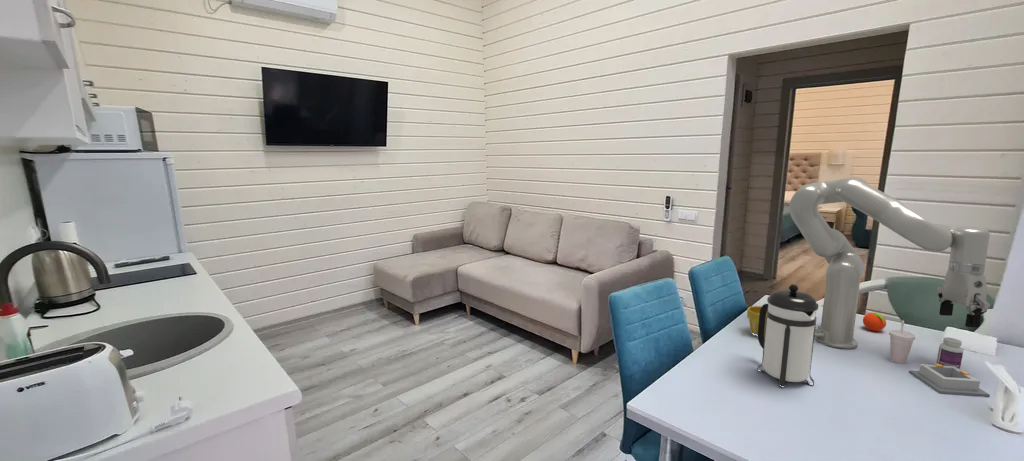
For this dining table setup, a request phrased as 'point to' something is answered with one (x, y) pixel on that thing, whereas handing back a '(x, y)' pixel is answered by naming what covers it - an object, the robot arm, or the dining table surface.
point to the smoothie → (900, 344)
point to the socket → (949, 380)
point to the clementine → (874, 321)
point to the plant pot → (754, 318)
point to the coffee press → (788, 334)
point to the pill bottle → (950, 353)
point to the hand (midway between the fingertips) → (958, 320)
